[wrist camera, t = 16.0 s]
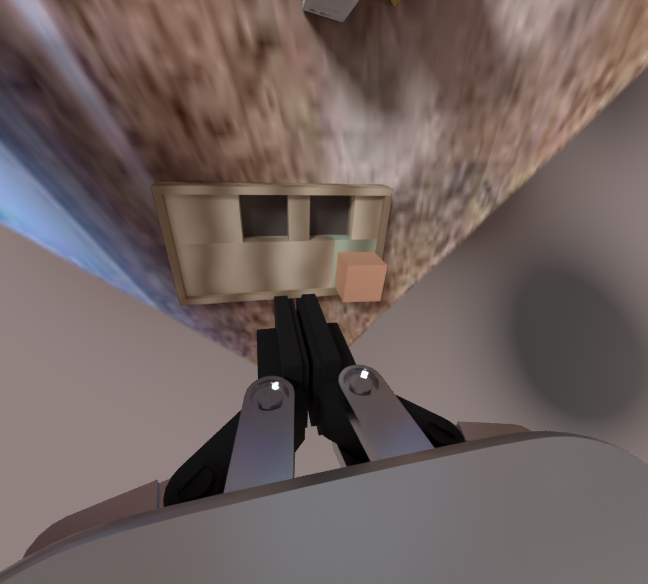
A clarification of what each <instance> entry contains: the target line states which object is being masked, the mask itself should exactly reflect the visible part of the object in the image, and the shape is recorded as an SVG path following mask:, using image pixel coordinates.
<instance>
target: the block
mask: <svg viewBox="0 0 648 584" xmlns="http://www.w3.org/2000/svg"><path fill="white" fill-rule="evenodd" d="M386 270H387V264H386V263H385V262H384V261H383V260H382V259H381V258H380V257H379V256H378V255H377V254H376V253H375V252H338V258H337V267H336V276H335V285H334V286H335V288H336V290H337V292H338V294H339V296H340V298H341V300H342V301H343V302H368V301H380V300H381V295H382V290H383V285H384V280H385V275H386Z"/></svg>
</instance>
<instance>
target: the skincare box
mask: <svg viewBox="0 0 648 584" xmlns="http://www.w3.org/2000/svg"><path fill="white" fill-rule="evenodd" d="M358 1H359V0H303V6H302V9H303V10H304V11H308V12H311V13H314V14H317V15H320V16H324V17H327V18H330V19H333V20H336V21H339V22H344V20H345V19H346V18H347V16H348V15H349V14H350V12H351V11H352V9H353V8H354V7H355V5H356V4H357V3H358Z"/></svg>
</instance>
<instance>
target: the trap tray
mask: <svg viewBox="0 0 648 584" xmlns="http://www.w3.org/2000/svg"><path fill="white" fill-rule="evenodd" d="M151 190H152V194H153V198H154V202H155V206H156V210H157V214H158V218H159V222H160V226H161V230H162V234H163V238H164V243H165V247H166V251H167V255H168V259H169V263H170V267H171V271H172V275H173V279H174V283H175V287H176V291H177V295H178V299H179V303H180V306H183V305H198V304H213V303H227V302H242V301H257V300H271V299H274V296H286V295H287V296H288V298H301V295H302V294H315V295H316V296H330V295H339V294H338V292H337V290H336V288H335V286H334V285H335V276H336V267H337V258H338V252H375V253H376V254H377V255H378V256H379V257H380V258H381V259H382V258H383V251H384V245H385V238H386V231H387V225H388V218H389V212H390V205H391V199H392V192H393V188H390V187H387V186H385V185H375V184H308V183H241V182H174V181H160V182H158V183H156V184H153V185H151Z"/></svg>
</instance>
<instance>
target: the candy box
mask: <svg viewBox="0 0 648 584" xmlns="http://www.w3.org/2000/svg"><path fill="white" fill-rule="evenodd" d="M390 1H391V3H392V5H393V6H396V4H398V3H399V2H400V1H401V0H390Z"/></svg>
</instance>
